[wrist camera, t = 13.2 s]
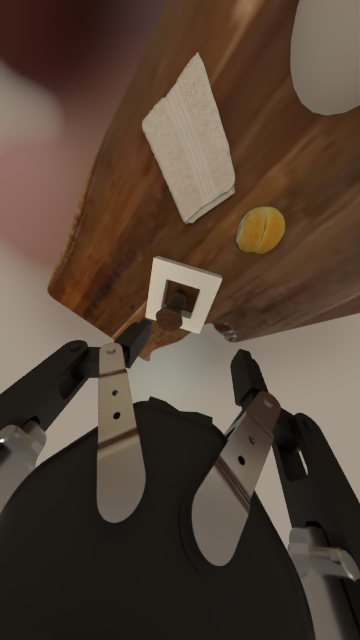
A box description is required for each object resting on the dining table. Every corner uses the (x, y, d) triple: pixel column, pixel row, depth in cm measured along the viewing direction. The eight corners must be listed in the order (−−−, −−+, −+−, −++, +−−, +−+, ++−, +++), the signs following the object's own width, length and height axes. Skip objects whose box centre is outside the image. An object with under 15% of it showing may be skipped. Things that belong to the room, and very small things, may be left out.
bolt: (178, 307, 42) (165, 335, 29) (167, 294, 41) (149, 318, 28) (193, 296, 40) (187, 323, 27) (183, 282, 38) (171, 303, 25)
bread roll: (271, 255, 32) (278, 256, 28) (232, 250, 33) (235, 251, 29) (289, 210, 28) (301, 205, 24) (244, 205, 28) (249, 200, 25)
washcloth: (187, 228, 32) (185, 227, 30) (141, 131, 26) (134, 118, 23) (238, 192, 28) (242, 187, 25) (198, 63, 21) (197, 38, 19)
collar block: (221, 275, 36) (222, 278, 32) (200, 326, 44) (199, 334, 41) (158, 256, 36) (153, 257, 32) (150, 311, 45) (145, 317, 41)
